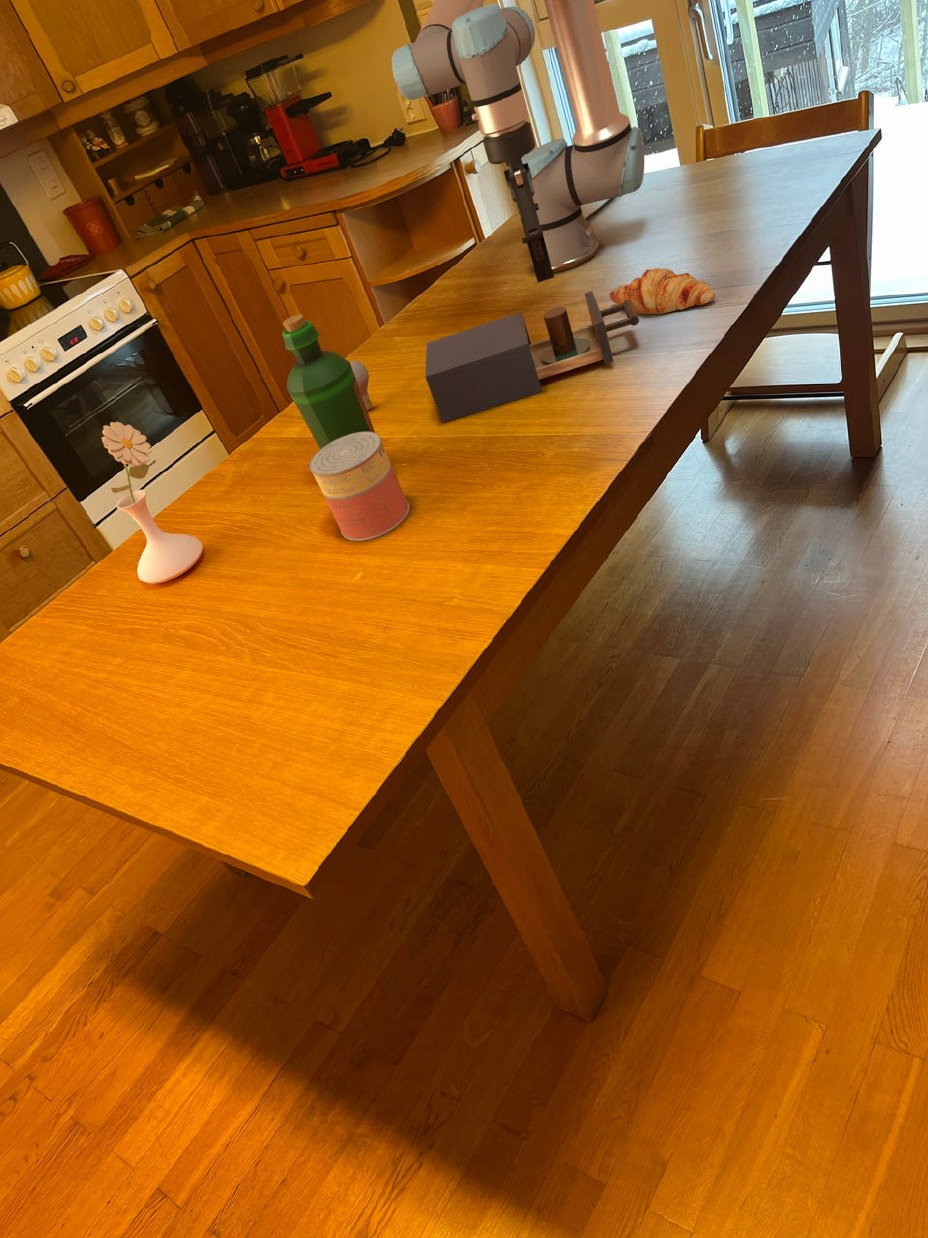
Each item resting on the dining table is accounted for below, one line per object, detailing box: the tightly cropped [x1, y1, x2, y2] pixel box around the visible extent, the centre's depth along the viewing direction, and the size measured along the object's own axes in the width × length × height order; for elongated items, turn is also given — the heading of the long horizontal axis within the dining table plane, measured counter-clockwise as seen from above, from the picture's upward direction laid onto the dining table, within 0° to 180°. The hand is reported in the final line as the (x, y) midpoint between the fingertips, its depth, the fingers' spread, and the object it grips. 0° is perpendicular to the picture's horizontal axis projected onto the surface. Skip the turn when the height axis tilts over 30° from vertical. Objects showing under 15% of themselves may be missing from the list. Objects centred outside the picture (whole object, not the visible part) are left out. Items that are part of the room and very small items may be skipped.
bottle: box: [282, 313, 376, 450], centre depth 143 cm, size 11×11×28 cm
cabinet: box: [425, 311, 543, 424], centre depth 158 cm, size 18×15×9 cm
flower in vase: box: [101, 421, 204, 585], centre depth 141 cm, size 13×11×25 cm
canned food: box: [308, 432, 410, 542], centre depth 135 cm, size 11×11×12 cm
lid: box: [541, 306, 590, 365], centre depth 155 cm, size 9×9×8 cm
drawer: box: [529, 290, 640, 381], centre depth 155 cm, size 24×15×7 cm, turn 90°
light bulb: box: [348, 360, 373, 412], centre depth 169 cm, size 6×6×10 cm
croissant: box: [609, 267, 716, 315], centre depth 163 cm, size 21×10×8 cm, turn 52°
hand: (542, 266), depth 148 cm, fingers open, 13 cm apart
